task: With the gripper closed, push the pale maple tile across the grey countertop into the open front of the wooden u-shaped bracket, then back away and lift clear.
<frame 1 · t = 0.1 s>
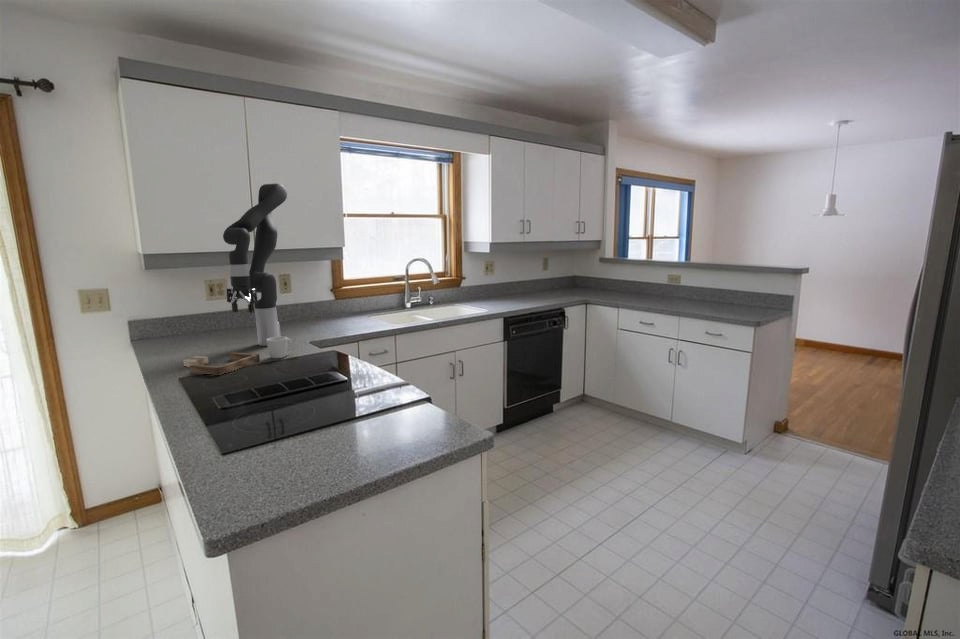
hand: (243, 312, 211), 17 cm above the counter, tool pointing down, fingers open, 8 cm apart
wooden u-shaped bracket: (226, 367, 188), on the counter
cup: (281, 356, 203), on the counter
maple tile: (196, 365, 193), on the counter
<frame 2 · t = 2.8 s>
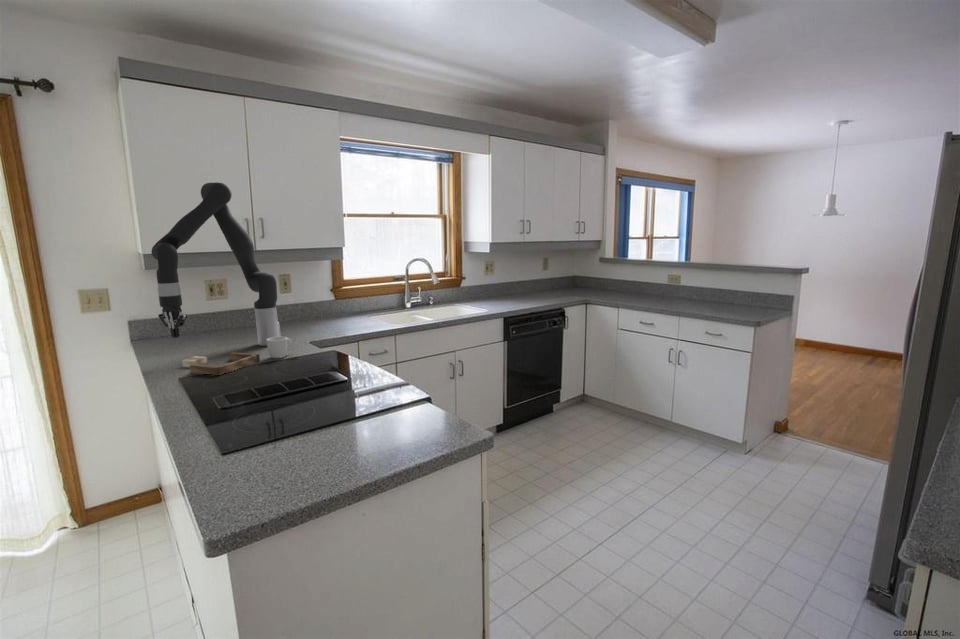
hand: (175, 337, 193), 11 cm above the counter, tool pointing down, fingers closed
nothing on the counter moved.
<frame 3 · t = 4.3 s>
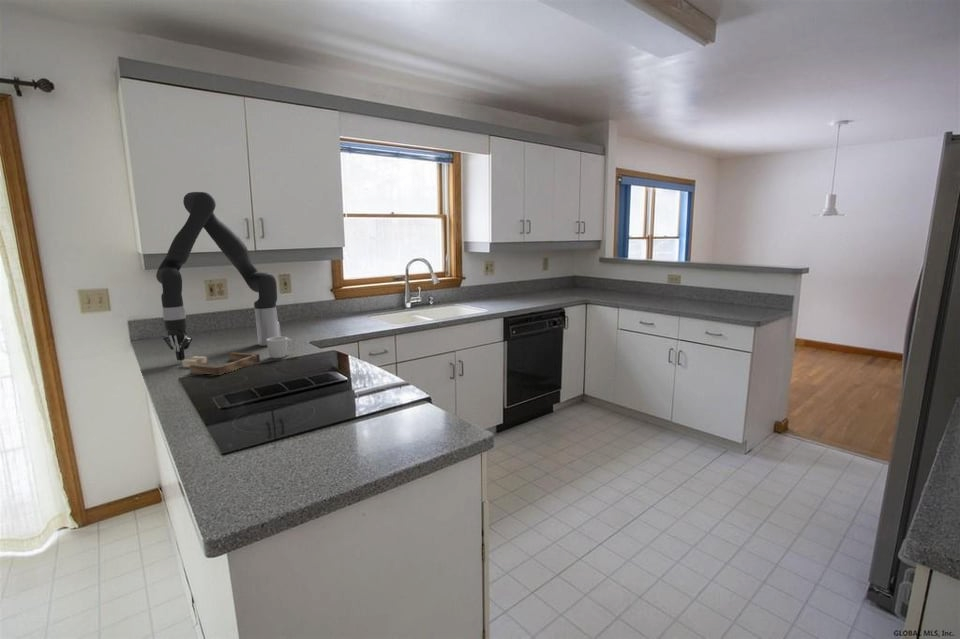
hand: (180, 359, 195), 1 cm above the counter, tool pointing down, fingers closed
nothing on the counter moved.
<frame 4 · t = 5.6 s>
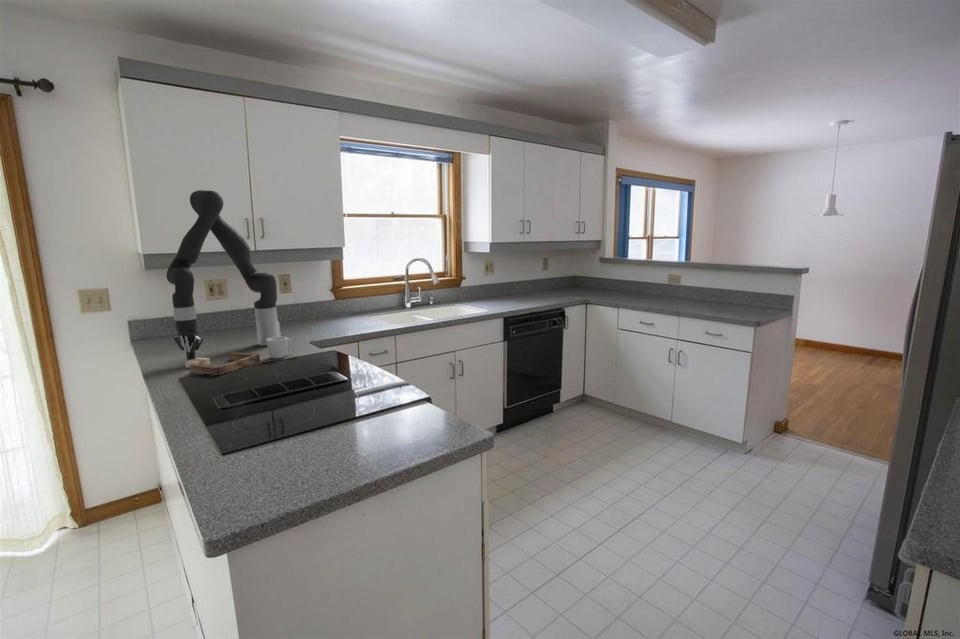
hand: (191, 360, 193), 2 cm above the counter, tool pointing down, fingers closed
maple tile: (198, 367, 192), on the counter
everything else where it was.
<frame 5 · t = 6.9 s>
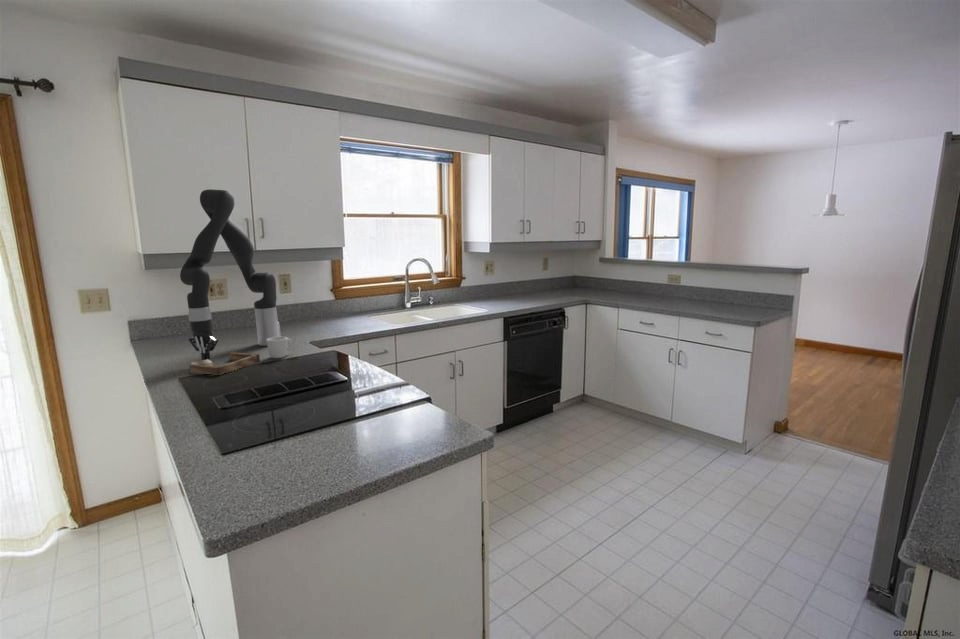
hand: (206, 361, 191), 2 cm above the counter, tool pointing down, fingers closed
maple tile: (202, 369, 186), on the counter, touching gripper
everything else where it was.
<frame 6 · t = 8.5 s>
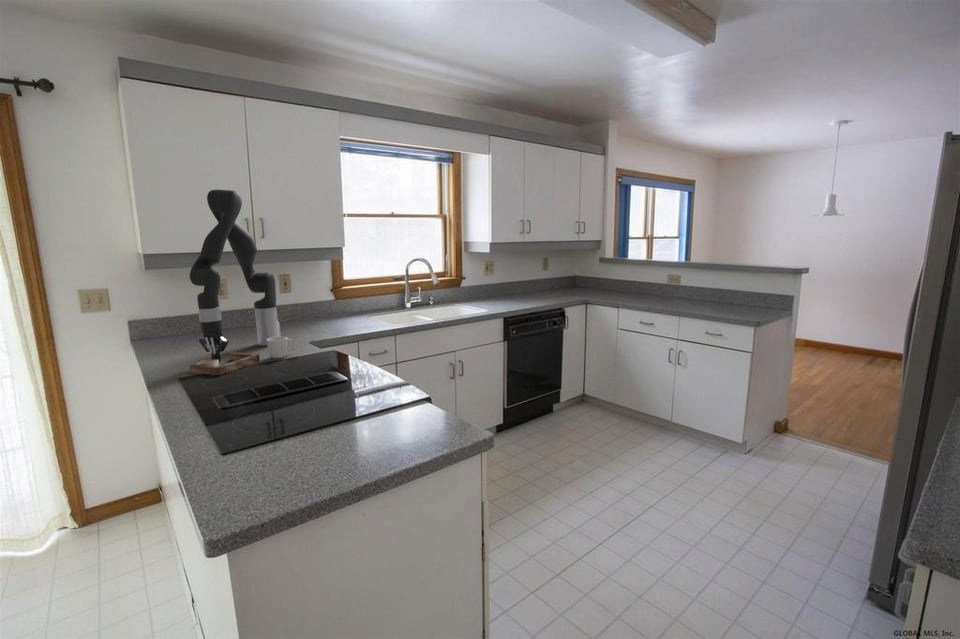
hand: (216, 362, 190), 1 cm above the counter, tool pointing down, fingers closed
maple tile: (208, 369, 186), on the counter, touching wooden u-shaped bracket, gripper
everything else where it was.
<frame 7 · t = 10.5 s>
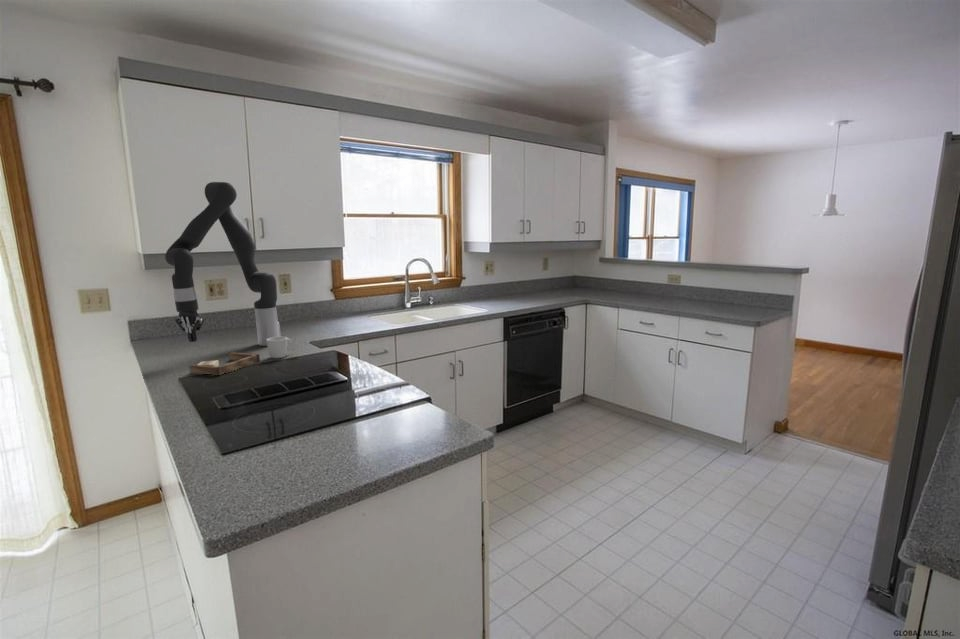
hand: (192, 341, 195), 9 cm above the counter, tool pointing down, fingers closed
maple tile: (208, 370, 186), on the counter
everything else where it was.
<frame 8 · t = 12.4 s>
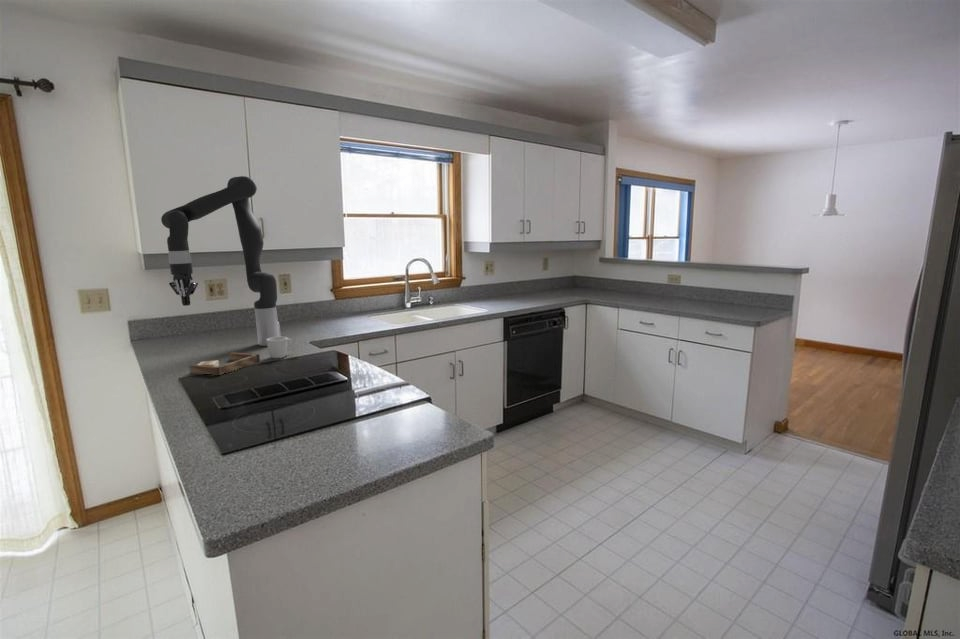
hand: (186, 305, 195), 23 cm above the counter, tool pointing down, fingers closed
nothing on the counter moved.
at the end: maple tile inside the target area (6.2 cm from its centre), on the counter; maple tile tilted 0° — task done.
